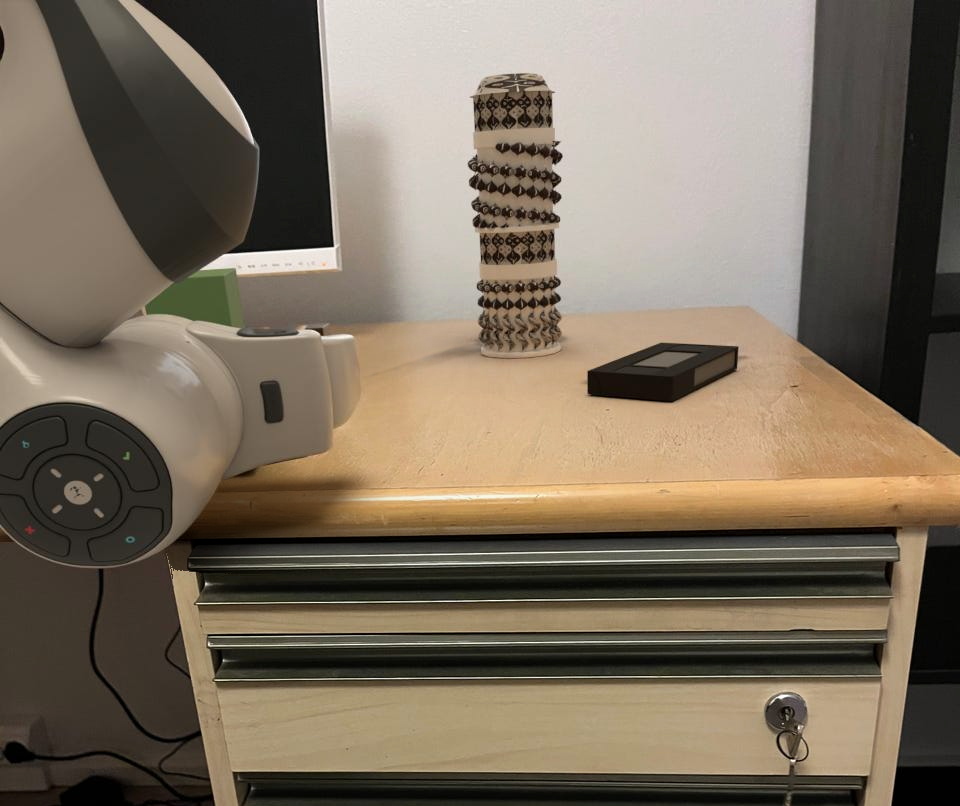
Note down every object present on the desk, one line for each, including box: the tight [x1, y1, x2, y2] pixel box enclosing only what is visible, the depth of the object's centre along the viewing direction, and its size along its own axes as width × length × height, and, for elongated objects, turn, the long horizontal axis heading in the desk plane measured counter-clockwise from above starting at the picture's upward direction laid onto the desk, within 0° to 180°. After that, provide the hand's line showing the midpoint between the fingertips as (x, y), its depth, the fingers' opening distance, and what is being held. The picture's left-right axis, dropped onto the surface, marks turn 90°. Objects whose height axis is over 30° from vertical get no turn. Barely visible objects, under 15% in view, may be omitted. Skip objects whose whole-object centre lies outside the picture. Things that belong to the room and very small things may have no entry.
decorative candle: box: [467, 72, 564, 359], centre depth 97 cm, size 9×9×25 cm
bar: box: [144, 267, 254, 471], centre depth 64 cm, size 5×5×12 cm
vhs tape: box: [586, 342, 739, 402], centre depth 84 cm, size 8×14×2 cm, turn 146°
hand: (207, 359), depth 65 cm, fingers closed on bar, 5 cm apart
